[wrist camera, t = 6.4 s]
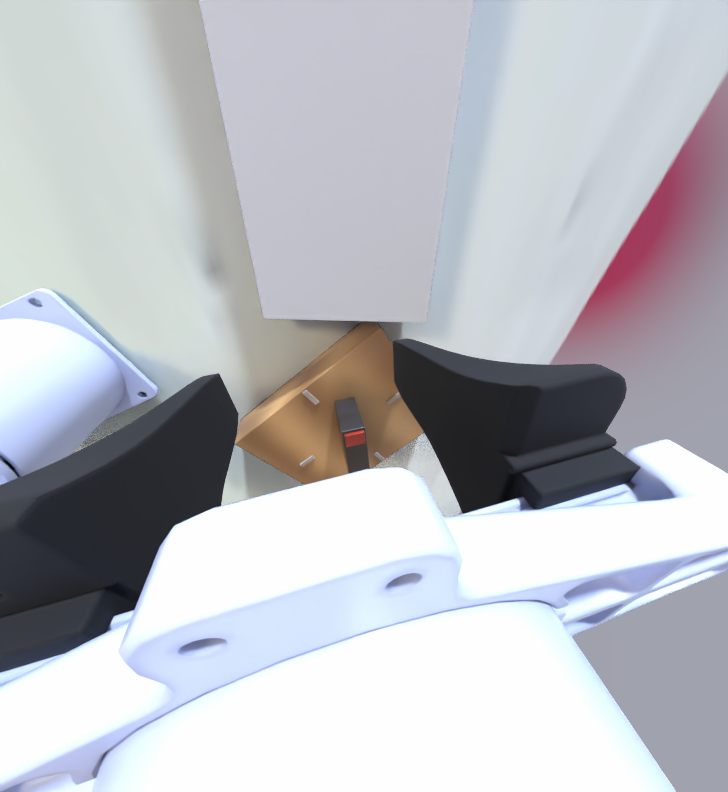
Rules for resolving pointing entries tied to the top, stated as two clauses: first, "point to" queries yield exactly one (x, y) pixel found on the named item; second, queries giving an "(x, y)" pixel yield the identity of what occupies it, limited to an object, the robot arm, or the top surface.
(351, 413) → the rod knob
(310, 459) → the panel
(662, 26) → the top surface
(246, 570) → the robot arm
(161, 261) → the top surface
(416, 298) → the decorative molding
